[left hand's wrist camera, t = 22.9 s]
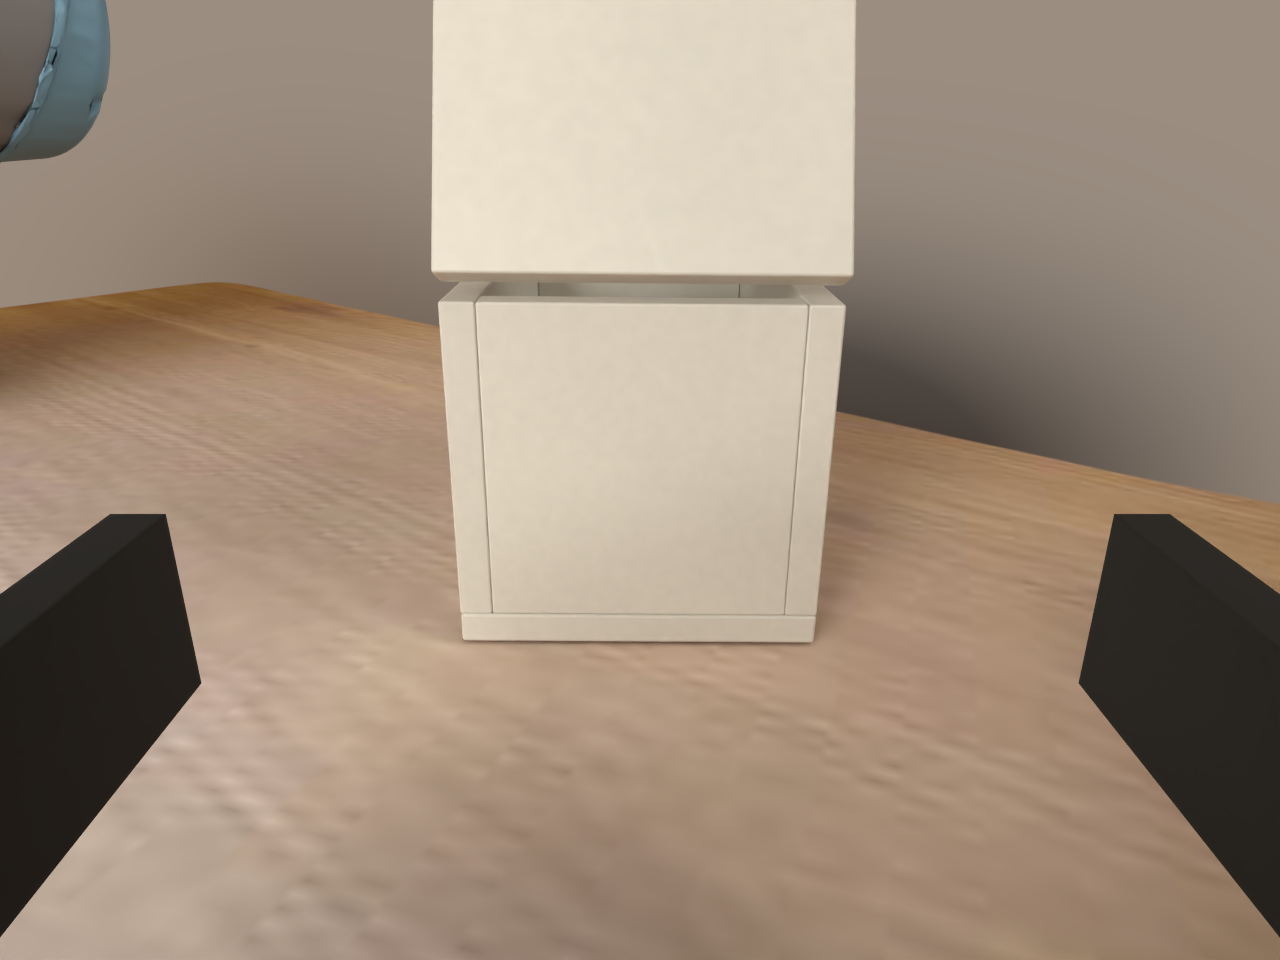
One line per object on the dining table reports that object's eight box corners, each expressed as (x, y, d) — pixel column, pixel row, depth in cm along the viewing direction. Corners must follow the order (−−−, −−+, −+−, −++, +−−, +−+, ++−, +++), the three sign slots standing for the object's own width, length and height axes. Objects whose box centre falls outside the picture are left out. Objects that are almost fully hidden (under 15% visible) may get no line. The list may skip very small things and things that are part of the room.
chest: (525, 452, 38) (516, 229, 34) (749, 454, 38) (762, 232, 34) (462, 642, 24) (436, 301, 21) (814, 644, 24) (846, 305, 21)
